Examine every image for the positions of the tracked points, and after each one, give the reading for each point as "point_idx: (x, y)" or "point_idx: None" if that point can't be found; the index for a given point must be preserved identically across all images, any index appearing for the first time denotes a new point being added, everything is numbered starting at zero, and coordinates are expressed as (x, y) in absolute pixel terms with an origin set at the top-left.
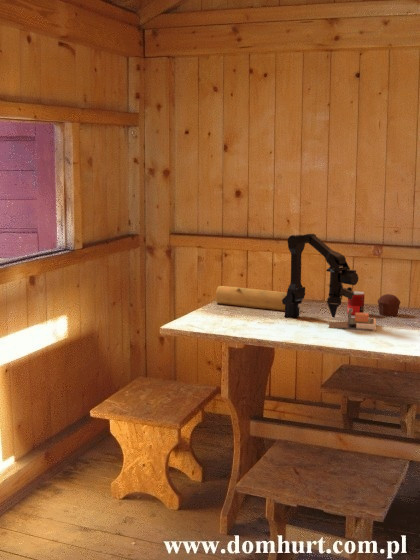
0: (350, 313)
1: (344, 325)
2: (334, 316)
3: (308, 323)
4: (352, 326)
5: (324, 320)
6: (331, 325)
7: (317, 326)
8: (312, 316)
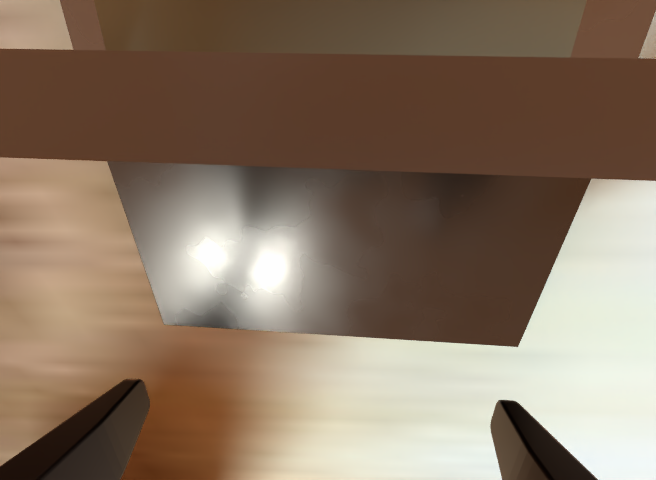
0: (630, 77)
1: None
2: (528, 418)
3: (321, 475)
4: None
5: (116, 369)
6: (374, 316)
7: (440, 426)
8: (8, 443)
